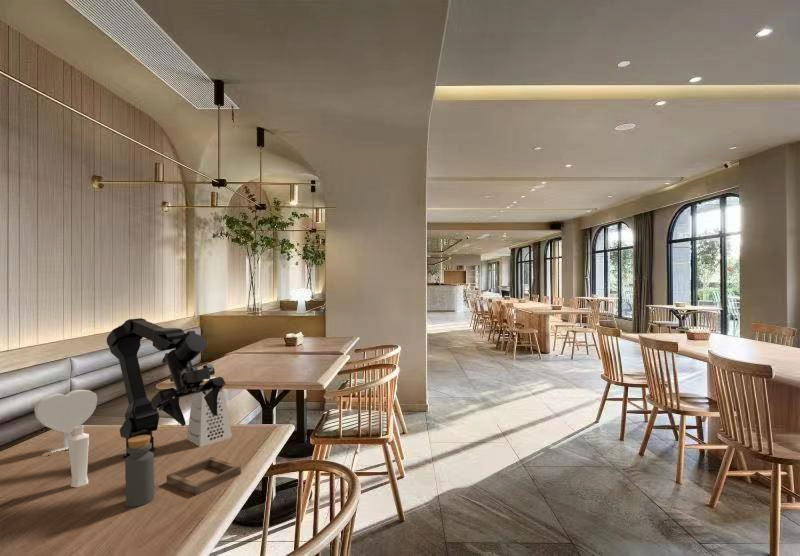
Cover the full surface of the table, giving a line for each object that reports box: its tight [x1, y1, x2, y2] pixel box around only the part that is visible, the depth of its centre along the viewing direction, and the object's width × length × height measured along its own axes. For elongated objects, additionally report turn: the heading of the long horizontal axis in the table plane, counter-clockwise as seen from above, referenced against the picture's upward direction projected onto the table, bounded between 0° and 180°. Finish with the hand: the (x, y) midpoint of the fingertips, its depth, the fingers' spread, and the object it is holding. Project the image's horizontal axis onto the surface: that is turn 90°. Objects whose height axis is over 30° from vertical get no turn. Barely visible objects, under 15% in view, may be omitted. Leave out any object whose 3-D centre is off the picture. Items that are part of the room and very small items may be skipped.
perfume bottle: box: [68, 424, 90, 489], centre depth 109 cm, size 5×4×15 cm
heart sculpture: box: [33, 389, 98, 453], centre depth 134 cm, size 16×5×18 cm, turn 143°
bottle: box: [124, 435, 156, 508], centre depth 100 cm, size 6×6×15 cm
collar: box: [166, 456, 242, 496], centre depth 110 cm, size 13×13×2 cm
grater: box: [186, 376, 233, 448], centre depth 140 cm, size 10×10×20 cm
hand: (200, 420), depth 113 cm, fingers open, 9 cm apart
